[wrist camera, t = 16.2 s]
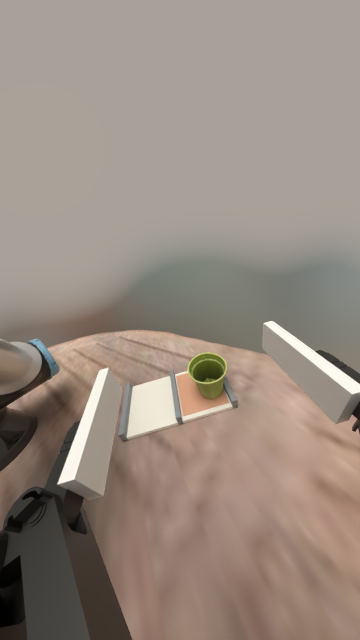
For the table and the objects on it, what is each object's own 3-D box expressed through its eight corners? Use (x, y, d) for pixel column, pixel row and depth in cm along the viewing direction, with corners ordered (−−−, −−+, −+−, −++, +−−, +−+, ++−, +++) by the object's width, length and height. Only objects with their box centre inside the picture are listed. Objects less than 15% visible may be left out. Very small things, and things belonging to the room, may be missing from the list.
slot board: (123, 441, 37) (118, 435, 36) (130, 389, 49) (126, 383, 48) (237, 407, 38) (237, 399, 36) (216, 364, 50) (215, 358, 48)
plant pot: (187, 397, 41) (180, 376, 37) (201, 370, 48) (197, 349, 43) (222, 412, 36) (219, 389, 32) (233, 379, 43) (231, 357, 38)
